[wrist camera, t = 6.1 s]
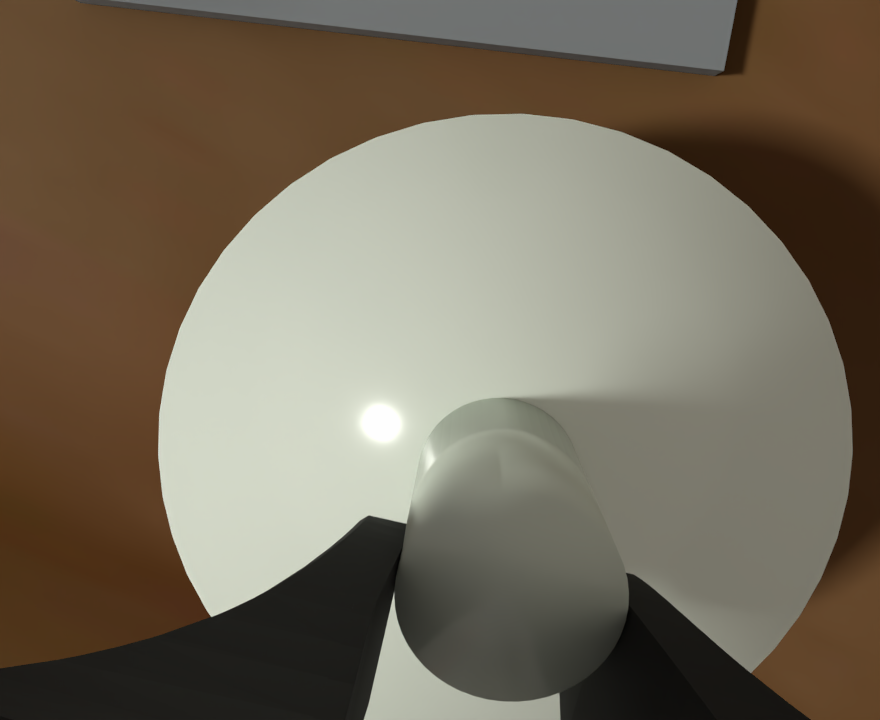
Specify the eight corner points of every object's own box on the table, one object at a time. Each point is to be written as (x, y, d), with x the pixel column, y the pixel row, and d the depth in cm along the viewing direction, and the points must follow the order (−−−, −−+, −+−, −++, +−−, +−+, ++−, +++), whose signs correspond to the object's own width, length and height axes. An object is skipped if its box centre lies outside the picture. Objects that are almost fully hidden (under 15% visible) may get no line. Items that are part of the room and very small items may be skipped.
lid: (153, 673, 15) (-4, 906, 10) (217, 61, 12) (47, -33, 7) (726, 779, 15) (852, 1064, 10) (913, 190, 12) (1211, 182, 7)
